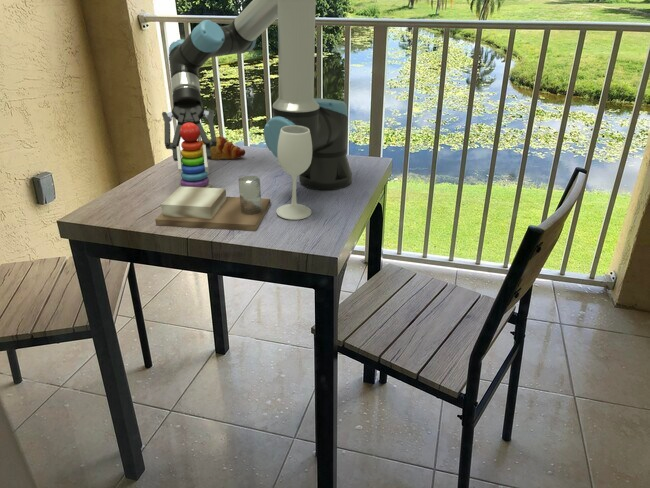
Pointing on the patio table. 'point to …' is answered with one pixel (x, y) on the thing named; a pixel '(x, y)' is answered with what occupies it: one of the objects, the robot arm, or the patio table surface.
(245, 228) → the board
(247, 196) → the grey brown short cylinder
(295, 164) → the wineglass
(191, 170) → the stacking toy
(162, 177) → the patio table surface
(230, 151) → the croissant
